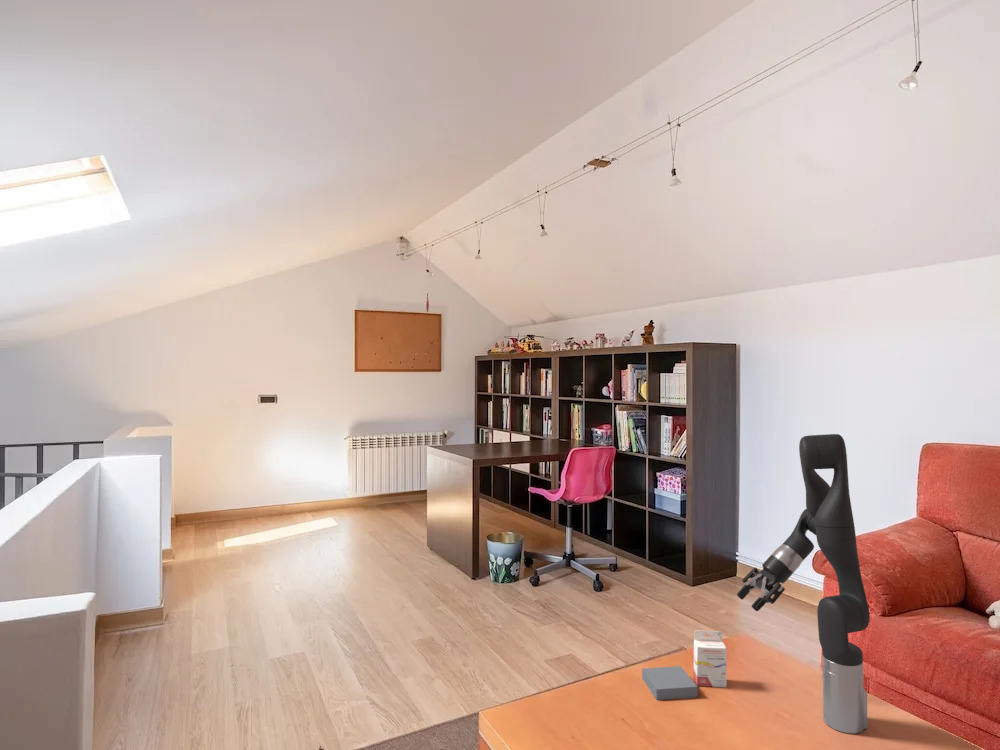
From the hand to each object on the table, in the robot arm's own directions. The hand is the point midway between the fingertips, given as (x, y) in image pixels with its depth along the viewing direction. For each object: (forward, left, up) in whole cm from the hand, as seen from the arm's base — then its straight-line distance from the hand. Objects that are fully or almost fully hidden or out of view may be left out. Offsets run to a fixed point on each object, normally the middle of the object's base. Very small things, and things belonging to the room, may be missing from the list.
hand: (746, 603), depth 179 cm
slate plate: (+25, +1, -23) cm, 34 cm away
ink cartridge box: (+12, 0, -23) cm, 26 cm away
